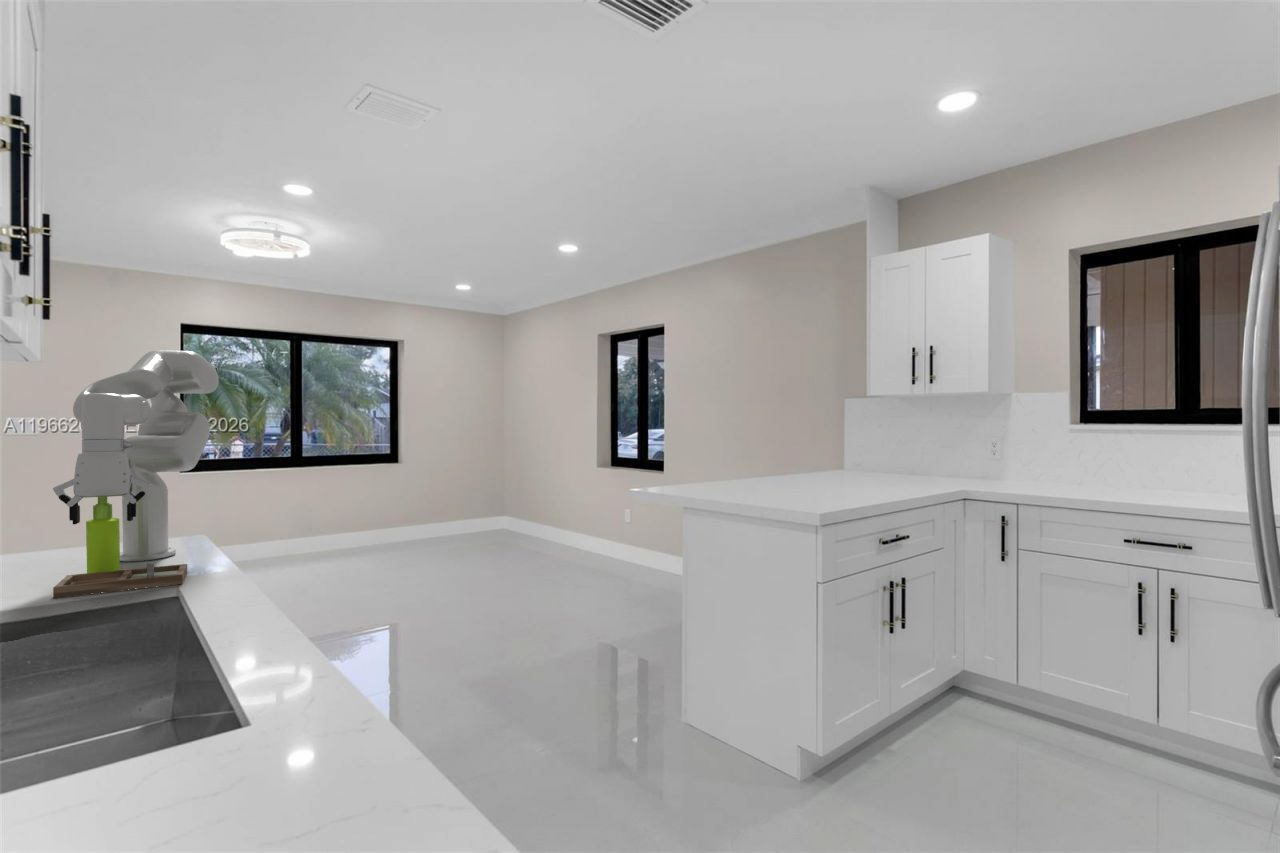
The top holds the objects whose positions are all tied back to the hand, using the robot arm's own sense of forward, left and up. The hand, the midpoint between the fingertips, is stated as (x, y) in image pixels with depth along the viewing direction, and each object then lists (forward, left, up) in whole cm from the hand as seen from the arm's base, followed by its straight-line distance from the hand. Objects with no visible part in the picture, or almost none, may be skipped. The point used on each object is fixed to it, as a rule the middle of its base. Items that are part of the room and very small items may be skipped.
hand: (103, 521), depth 149 cm
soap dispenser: (-1, 0, -13) cm, 13 cm away
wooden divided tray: (+10, +5, -13) cm, 17 cm away
